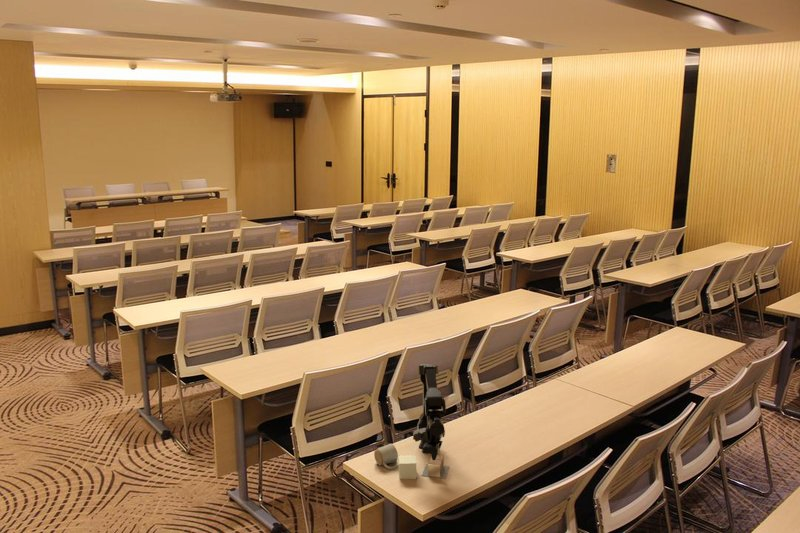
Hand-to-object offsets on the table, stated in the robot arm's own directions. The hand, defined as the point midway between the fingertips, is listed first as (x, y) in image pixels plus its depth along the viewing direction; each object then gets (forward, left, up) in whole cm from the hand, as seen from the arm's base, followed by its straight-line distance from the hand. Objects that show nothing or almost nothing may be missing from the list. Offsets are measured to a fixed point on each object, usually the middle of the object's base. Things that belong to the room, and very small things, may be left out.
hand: (433, 459), depth 281 cm
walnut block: (0, 0, -5) cm, 5 cm away
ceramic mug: (-6, -21, -8) cm, 23 cm away
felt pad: (-4, 0, -7) cm, 8 cm away
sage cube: (+1, -11, -8) cm, 13 cm away
